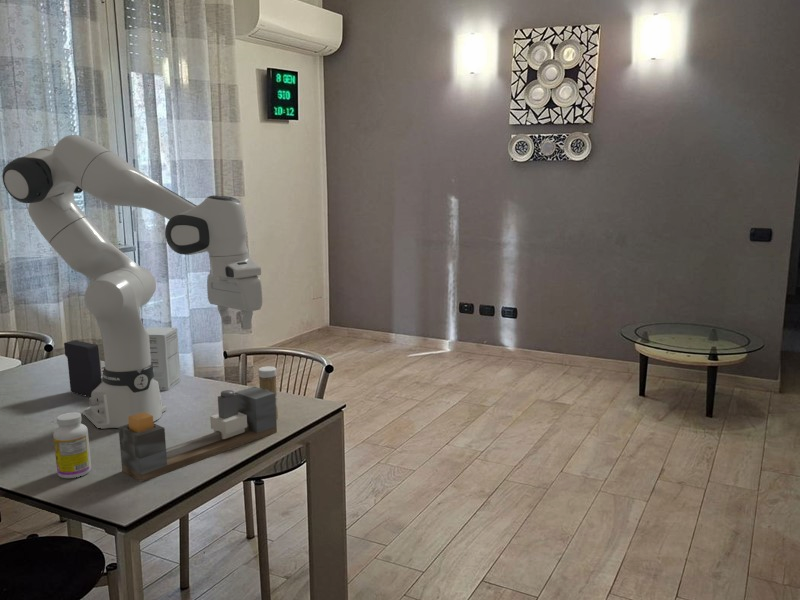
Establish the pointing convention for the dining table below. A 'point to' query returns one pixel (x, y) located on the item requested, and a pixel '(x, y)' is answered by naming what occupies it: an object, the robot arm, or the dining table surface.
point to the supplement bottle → (71, 446)
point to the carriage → (228, 416)
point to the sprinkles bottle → (268, 381)
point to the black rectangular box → (83, 366)
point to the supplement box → (164, 356)
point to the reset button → (140, 422)
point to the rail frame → (152, 459)
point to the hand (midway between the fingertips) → (236, 326)
